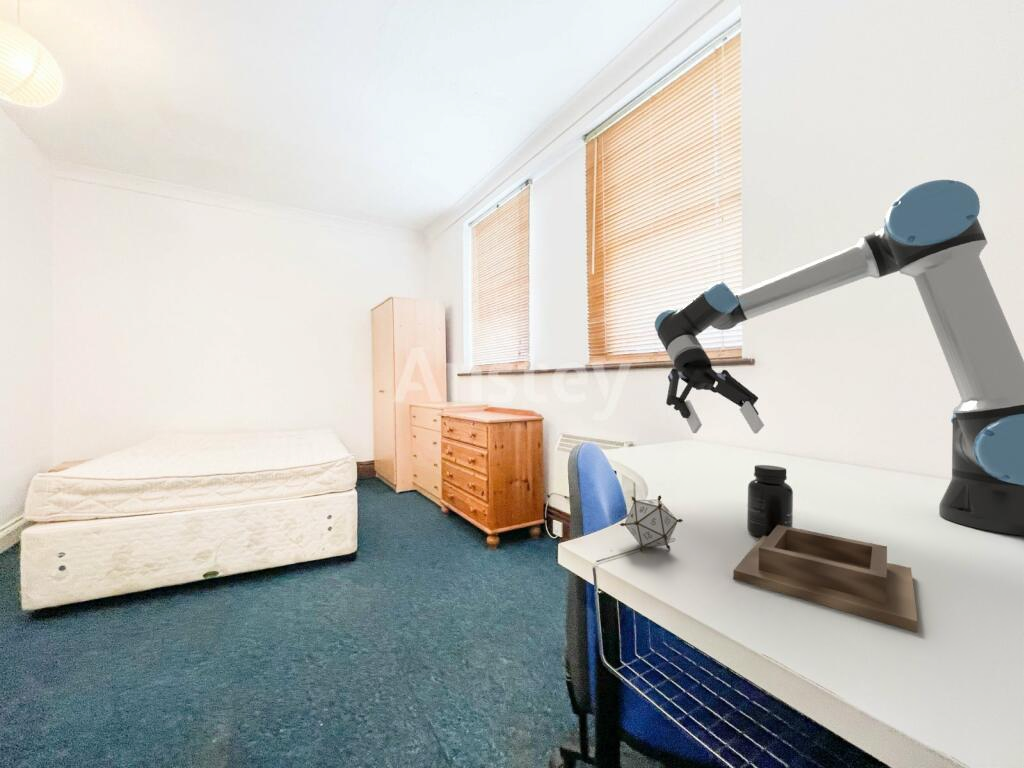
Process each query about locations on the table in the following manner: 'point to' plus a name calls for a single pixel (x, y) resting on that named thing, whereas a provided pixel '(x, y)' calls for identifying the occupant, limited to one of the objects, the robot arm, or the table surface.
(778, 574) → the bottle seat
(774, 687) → the table surface
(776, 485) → the supplement bottle
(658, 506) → the game die
